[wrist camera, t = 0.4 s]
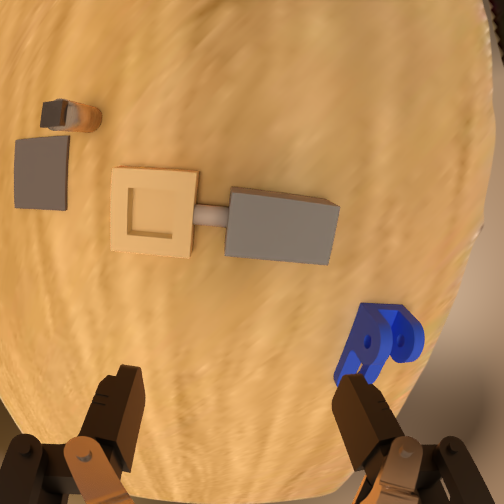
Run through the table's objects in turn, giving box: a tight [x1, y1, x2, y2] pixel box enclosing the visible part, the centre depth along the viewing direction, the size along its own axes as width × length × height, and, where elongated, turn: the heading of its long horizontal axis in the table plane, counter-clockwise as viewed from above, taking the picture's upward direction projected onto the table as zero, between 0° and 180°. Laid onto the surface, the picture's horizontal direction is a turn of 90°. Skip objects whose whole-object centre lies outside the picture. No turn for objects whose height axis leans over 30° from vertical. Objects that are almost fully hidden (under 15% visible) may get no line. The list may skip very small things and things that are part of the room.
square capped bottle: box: [40, 99, 102, 133], centre depth 25 cm, size 3×3×10 cm
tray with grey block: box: [110, 166, 340, 265], centre depth 33 cm, size 26×10×5 cm, turn 82°
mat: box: [14, 136, 70, 211], centre depth 31 cm, size 10×10×1 cm
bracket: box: [334, 303, 425, 387], centre depth 41 cm, size 18×8×9 cm, turn 171°
